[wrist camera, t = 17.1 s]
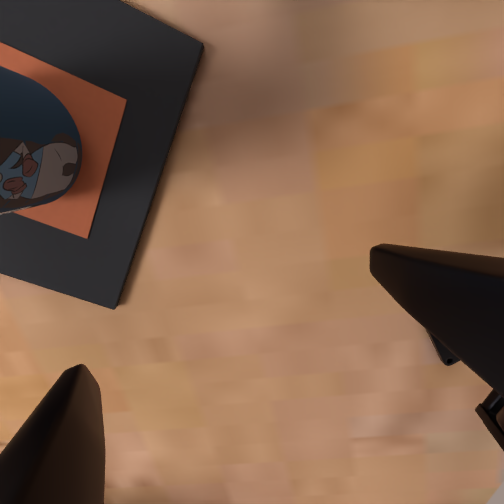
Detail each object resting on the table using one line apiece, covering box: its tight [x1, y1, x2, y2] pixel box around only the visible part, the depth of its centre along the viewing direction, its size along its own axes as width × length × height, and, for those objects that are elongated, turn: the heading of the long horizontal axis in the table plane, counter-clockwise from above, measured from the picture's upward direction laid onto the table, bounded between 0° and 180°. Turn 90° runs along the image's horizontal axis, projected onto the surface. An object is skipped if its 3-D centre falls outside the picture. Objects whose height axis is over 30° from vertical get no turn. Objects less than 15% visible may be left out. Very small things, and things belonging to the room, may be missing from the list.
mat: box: [0, 0, 204, 310], centre depth 17 cm, size 15×18×1 cm
